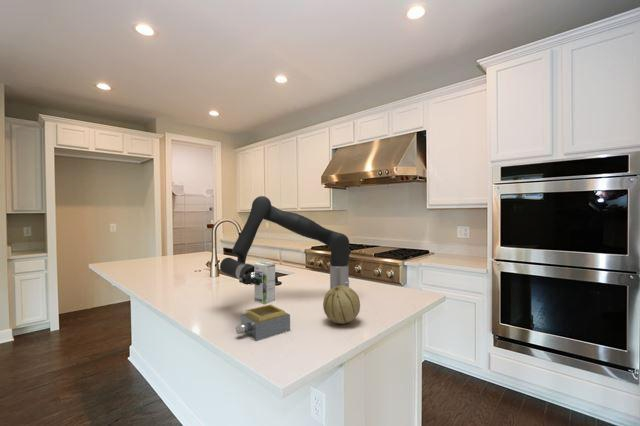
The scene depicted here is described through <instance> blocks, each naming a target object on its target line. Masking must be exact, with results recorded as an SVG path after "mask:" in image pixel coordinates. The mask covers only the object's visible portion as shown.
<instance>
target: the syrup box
mask: <svg viewBox="0 0 640 426" xmlns="http://www.w3.org/2000/svg"><path fill="white" fill-rule="evenodd" d="M275 273H276V262H270V261H269V262H268V261H258V262H256V263H254V278H257V279H260V285H258V286H257V285H255V284H253V286H254V287H253V288H254V289H253V290H254V294H253V295H254V298H253V300H254V303H258V304H263V305H268V304H269V303H273V302H275V301H276V282H275Z"/></svg>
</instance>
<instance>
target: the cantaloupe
mask: <svg viewBox="0 0 640 426" xmlns="http://www.w3.org/2000/svg"><path fill="white" fill-rule="evenodd" d="M322 307H323V311H324V314H325V315H326V317H327V319H328V320H330V321H331V322H332V323H335V324H337V325H338V324H339V325H345V324H349V323H351V322H352V321H353V320H356V318H357V317H358V316H359V313H360V310H361V301H360V297H359V295H358V294H357V292H356V291H355V290H354V289H353V288H352V287H350V286H349V287H347V286H342V285H341V286H336V287H333V288H332V289H330V288H329V290H328V291H327V292H326V293H325V295H324V298H323V302H322Z"/></svg>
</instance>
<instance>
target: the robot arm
mask: <svg viewBox="0 0 640 426" xmlns="http://www.w3.org/2000/svg"><path fill="white" fill-rule="evenodd" d="M263 220H265V221H268V222H271V223H274V224H277V225H278V226H280V227H282V228H284V229H286V230H288V231H290V232H292V233H295V234H296V235H299V236H302V237H305V238H307V239H311V240H314V241H318V242H320V243H321V244H322V243H323V244H325V245H326V246H327V247H329V248H330V260H329V283H330V284H329V290H330V289H332V288H333V287H336V286H341V285H342V286H347V287H350V279H349V261H350V238H349V237H348V236H347V235H346V234H344V233H341V232H338V231H334V230H331V229H328V228H325V227H324V226H321V225H320V224H319V223H317V222H315V221H313V220H312V219H310V218H309V217H307V216H304V215H301V214H299V213H296V212H291V211H287V210H283V209H282V210H281V209H280V208H277V207H276V206H274V205H272V202H271V200H270V198H268V197H266V196H263V195H260V196H257V197H256V198H254V200H253V201H252V204H251V209H250V212H249V215H248V216H247V219H246V222H245V225H244V226H243V228H242V230H241V232H240V234H239V235H238V237H237V239H236V241H235V244H234V245H233V247H232V253H233V254H234V255H235V256H236V258H237V260H236V259H234V258H232V257H225V258H223V259H222V260H221V262H220V264H219V269H220V271H221V272H222V273H223V274H225V275H229V276H230V277H233V278H235V279H238V282H239V283H240V284H243V285H251V286H252V285H253V286H254V284H255V285H257V286H258V285H260V279H257V278H254V265H253V264H250V263H246V260H247V256H248V254H249V251H250V249H251V247H252V245H253V243H254V240H255V238H256V235H257V233H258V230H259V227H260V226H261V224H262V221H263ZM277 274H278V273H277V272H275V283H278V278H279V277H278V275H277Z"/></svg>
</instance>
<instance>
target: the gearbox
mask: <svg viewBox="0 0 640 426" xmlns="http://www.w3.org/2000/svg"><path fill="white" fill-rule="evenodd" d="M245 312H246V313H242V314H241V315H240V319H241V320H240V323H241V324H238V325H236V327H235V331H236V334H237V335H242V334H246V335H247V336H249V337H250V338H251V339H252V340H254V341H255V342H257V341H261V340H264V339H268V338H270V337H274V336H278V335H280V333H281V334H283V332H284V333H287V332H290V331H291V314H290V313H288V312H286V311H285V310H283V309H281V308H279V307H277V306H275V305H273V304H265V305H263V306H262V305H261V306H258V307H255V308H253V307H252V308H250V309H249V308H248V309H246V311H245ZM289 330H290V331H289ZM286 331H287V332H286ZM267 337H268V338H267Z"/></svg>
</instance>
